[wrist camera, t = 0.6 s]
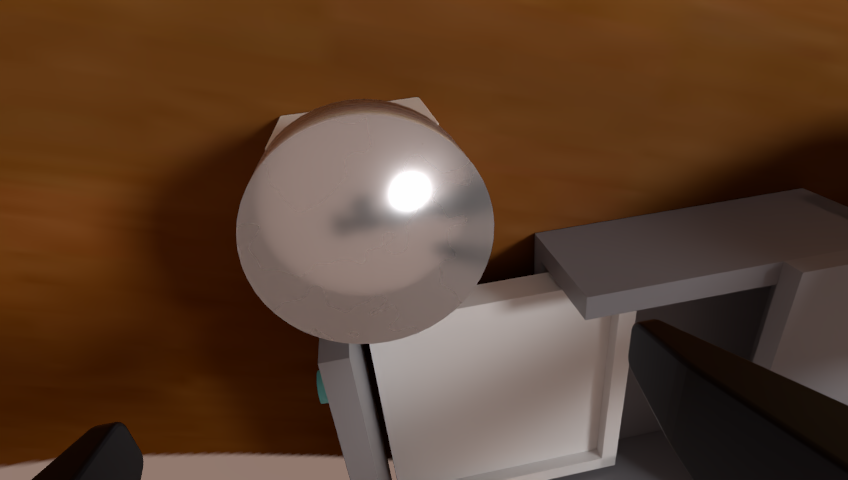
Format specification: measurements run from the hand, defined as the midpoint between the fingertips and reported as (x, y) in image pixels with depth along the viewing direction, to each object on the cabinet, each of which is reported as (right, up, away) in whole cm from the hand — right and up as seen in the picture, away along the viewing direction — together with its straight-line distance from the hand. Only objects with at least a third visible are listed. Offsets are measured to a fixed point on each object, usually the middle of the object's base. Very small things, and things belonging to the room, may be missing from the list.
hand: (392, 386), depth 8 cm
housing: (+13, -3, +17) cm, 21 cm away
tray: (+3, -4, +15) cm, 16 cm away
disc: (-1, +3, +6) cm, 7 cm away
